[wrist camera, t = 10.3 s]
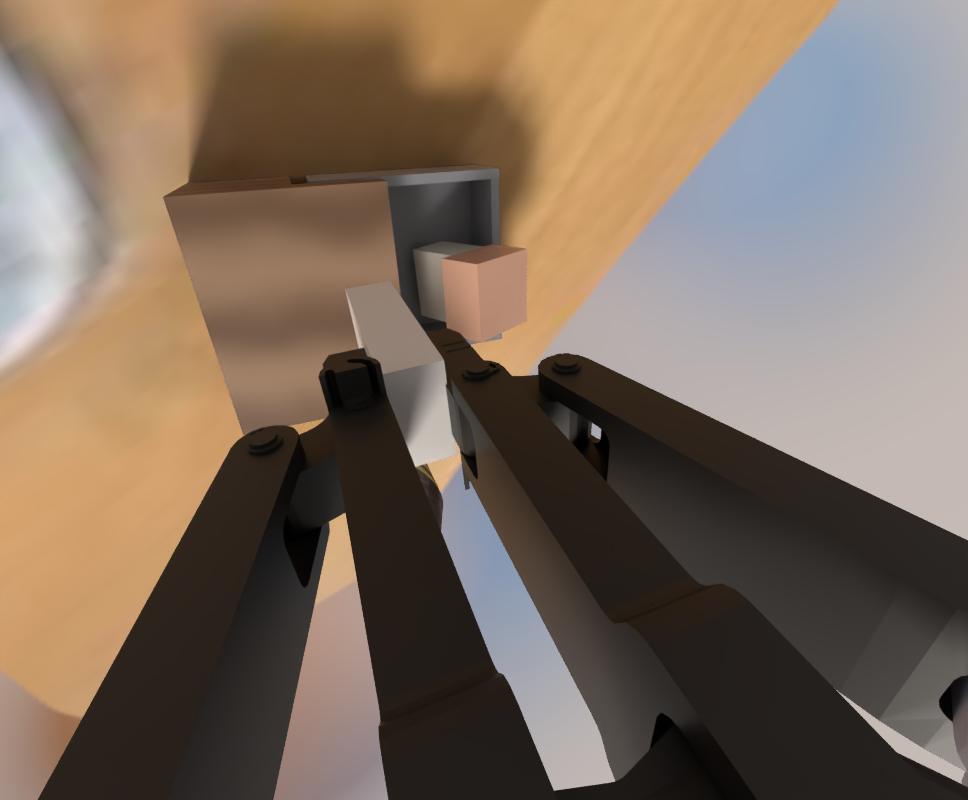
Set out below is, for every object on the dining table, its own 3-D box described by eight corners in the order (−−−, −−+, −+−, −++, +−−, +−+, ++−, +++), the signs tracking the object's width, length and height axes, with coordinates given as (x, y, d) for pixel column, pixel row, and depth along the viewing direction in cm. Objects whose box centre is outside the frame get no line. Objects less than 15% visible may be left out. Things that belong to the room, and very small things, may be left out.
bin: (304, 175, 32) (308, 181, 28) (474, 164, 36) (499, 168, 32) (338, 342, 38) (345, 366, 34) (480, 319, 42) (501, 338, 38)
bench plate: (187, 182, 30) (163, 197, 24) (365, 171, 33) (386, 181, 27) (249, 381, 37) (243, 435, 31) (391, 356, 40) (413, 400, 34)
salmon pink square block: (441, 258, 30) (477, 264, 29) (491, 244, 34) (526, 248, 32) (447, 333, 33) (480, 342, 31) (493, 313, 36) (526, 320, 34)
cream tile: (463, 257, 32) (492, 247, 34) (412, 249, 35) (442, 241, 37) (469, 328, 34) (495, 315, 36) (421, 315, 37) (448, 304, 39)
